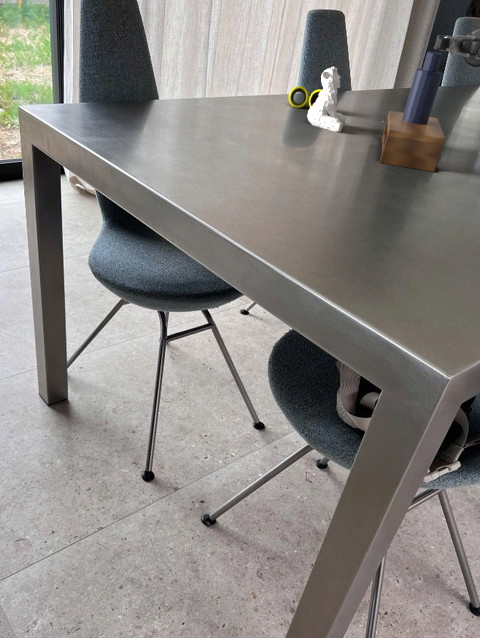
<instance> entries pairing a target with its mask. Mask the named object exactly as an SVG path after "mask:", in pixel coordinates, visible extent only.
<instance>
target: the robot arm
mask: <svg viewBox="0 0 480 638" xmlns="http://www.w3.org/2000/svg"><path fill="white" fill-rule="evenodd" d="M433 49H434V50H435V51H440V52H448V53H449V54H451V55H456V56H461V57H463V60H464V61H465V63H466V64H467V65H468V66H470V67H473V68H480V27H477V28H476V29H473V31H471V32H470V33H469V34H467V35H462V34H461V35H460V34H455V35H454V36H453V35H451V34H449V35H442V34H439V35H437V36H436V40H435V43H434V46H433Z"/></svg>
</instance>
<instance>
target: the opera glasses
mask: <svg viewBox="0 0 480 638" xmlns="http://www.w3.org/2000/svg"><path fill="white" fill-rule="evenodd" d="M322 90H323V89H318V88H317V89H315V90H314V91H313V92H311V93H310V96H309V92H308V90H307V88H306V87H304V86H302V85H296V86H295V87H293V88H292V89H291V90H290V92H289V94H288V102H289V104H290V105H291V106H292V107H293V108H295V109H301V108H303V107H304V106H305V105H307V103H308V106H309V109H310V108H311V106H313V104H314V103H315V102H316V100H317V99H318V97H319V93H320V92H321V91H322ZM298 93H301V94H302V95H303V100H302V101H301V102H299V103H298V102H296V101H295V99H294V98H295V95H296V94H298Z"/></svg>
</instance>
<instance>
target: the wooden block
mask: <svg viewBox="0 0 480 638" xmlns="http://www.w3.org/2000/svg"><path fill="white" fill-rule="evenodd" d="M403 114H404V112H401V111H394V110H389V111H388V114H387V118H386V122H385V125H384V129H383V133H382V136H381V141H380V142H381V143H382V145H381V155H380V159H379V164H385V165H390V166H396V167H403V168H408V169H414V170H419V171H426V172H432V173H435V170H436V167H437V165H438V162H439V158H440V155H441V152H442V151H443V150H442V149H443V146H444V143H445V141H446V137H445V133H444V131H443V129H442V126H441V123H440V121H439V118H438V117H434V116H433V117H432V116H430V117H429V120H428V123H427V124H414V123H409V122H406V121H403V120H402V118H403Z"/></svg>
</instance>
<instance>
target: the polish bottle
mask: <svg viewBox="0 0 480 638" xmlns="http://www.w3.org/2000/svg"><path fill="white" fill-rule="evenodd" d="M442 58H443V53H441V52H437V51H436V52H435V51H427V53H426V56H425V58H424V59H425V60H424V63H423V66H422V68H416V69H415V73H414V76H413V79H412V82H411V86H410V90H409V93H408V97H407V100H406V104H405V108H404V111H403V113H404V114H403V118H402V120H403V121H406V122H409V123H414V124H427V123H428V120H429V117H431V113H432V111H433V107H434V103H435V100H436V97H437V94H438V91H439V88H440V84H441V81H442V79H443V75H444V72H442V71H439V67H440V64H441V61H442Z"/></svg>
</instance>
